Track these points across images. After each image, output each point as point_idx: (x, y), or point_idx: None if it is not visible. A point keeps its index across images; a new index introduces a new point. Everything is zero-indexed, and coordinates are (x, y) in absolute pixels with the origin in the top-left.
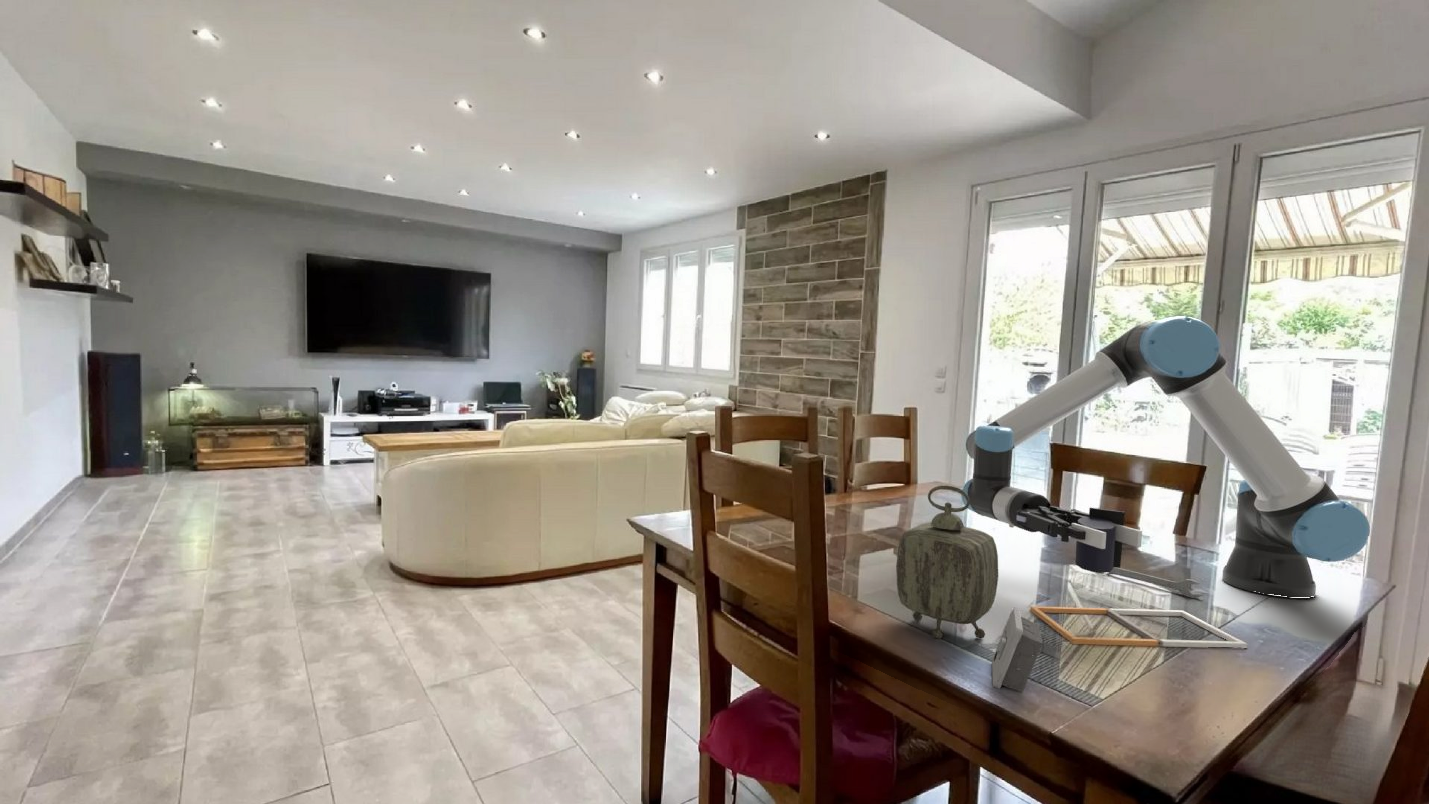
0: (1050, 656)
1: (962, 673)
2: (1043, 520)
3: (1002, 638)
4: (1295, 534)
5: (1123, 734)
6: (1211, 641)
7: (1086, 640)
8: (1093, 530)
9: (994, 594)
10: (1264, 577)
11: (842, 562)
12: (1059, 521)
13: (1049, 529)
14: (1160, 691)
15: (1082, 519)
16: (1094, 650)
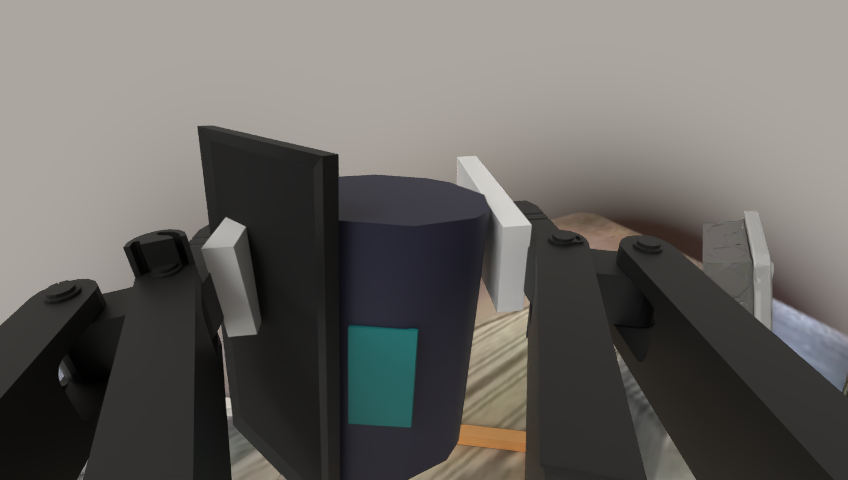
0: (627, 390)
1: (824, 346)
2: (730, 304)
3: (772, 266)
4: None
5: (595, 245)
6: None
7: (506, 431)
8: (487, 171)
9: (846, 379)
10: None
11: None
12: (591, 268)
13: (647, 358)
14: (484, 294)
15: (434, 216)
16: (504, 408)
